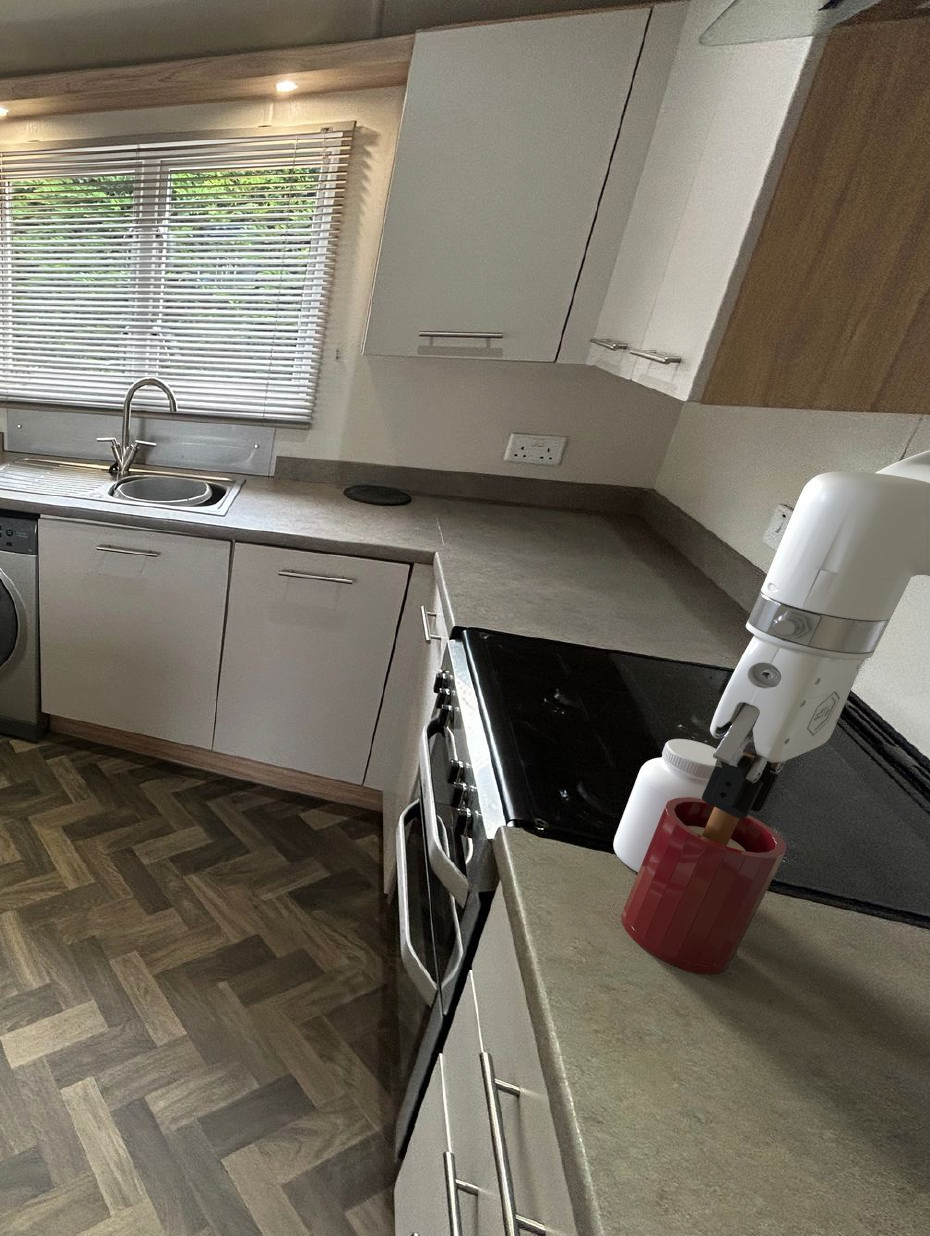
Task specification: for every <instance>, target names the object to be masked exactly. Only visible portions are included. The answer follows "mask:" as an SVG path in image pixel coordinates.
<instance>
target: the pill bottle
mask: <svg viewBox="0 0 930 1236" xmlns="http://www.w3.org/2000/svg"><path fill="white" fill-rule="evenodd" d="M716 749H717V748H715V747H713V746H712V745H709V744H706V743H703V742H699V741H695V740H693V739H692V740H691V739H685V738H673V739H670V740H668V741H667V742H665V743H664V747H663V749H662V752H661V755H662V756H661V757H655V758H652V759H650V760H647V761H646V762H644V764H643V765H642V766H641V767H640V769H639V772H638V774H637V777H636V779H635V782H634V785H633V788H632V790H631V793H630V795H629V797H628V801H627V803H626V807H625V809H624V811H623V814H622V817H621V819H620V822H619V825H618V828H617V830H616V833H615V835H614V839H613V842H612V843H613V844H612V845H613V850H614V853H615V854H616V856H617V857H618V859H619V860H620V861H621V862H623V864H624V865H625V866H627V867H629V868H630V869H631V870H632V871H635V872H637V873H638V872H639V870H640V867H641V865H642V862H643V860H644V857H645V855H646V852H647V850H648V847H649V845H650V843H651V840H652V838H653V835H654V833H655V830H656V828H657V825H658V823H659V820H660V818H661V815H662V813H663V811H664V808H665V806H666V804H667V802H668V801H670V800H672V799H674V798H682V797H692V798H700V799H702V795H703V793H704V791H705V788H706V786H707V784H708V781H709V779H710V777H711V774H712V772H713V770H714V768H715V763H716V761H717V759H715V758H713V754H714V752H715V751H716Z"/></svg>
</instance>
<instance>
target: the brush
mask: <svg viewBox="0 0 930 1236" xmlns="http://www.w3.org/2000/svg"><path fill="white" fill-rule="evenodd" d="M743 754H744V755H746V756H748V757H751V760H752V762H753V760H754V757H755V756H753V755H751V754H749V753H746V752H744V751H743ZM738 821H739V818H736V817H734V816H732V815H730V814H728V813H726V812H724V811H722V810H720V809H718V808H716V807H714V809H713V811H712V814H711V816H710V818H709V820H708V823H707V825H706V827H705V828H702V827H696V826H687V827H689V828H690V829H692V830H693V831H694V832H696V833H698V834H700V835H702V836H703V837H705V838H707V839H709V840H711V841H714V842H716V843H719V844H721V845H724V846H727V847H730V848H734V849H738V850H741V851H745V849H744V848H743V847H742V846H740V845H739V844H738V843H737V842H735V841H734V840H732V839H730V838H731V836H732V834H733V831H734V829H735V827H736V825H737V823H738Z"/></svg>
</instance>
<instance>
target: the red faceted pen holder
mask: <svg viewBox="0 0 930 1236" xmlns="http://www.w3.org/2000/svg"><path fill="white" fill-rule="evenodd" d="M713 809H714V806H712V805H710V804H708V803H706V802H705V801H703V799H700V798H692V797H682V798H674V799H672V800H670V801H668V802H667V804H666V806H665V808H664V811H663V813H662V815H661V818H660V820H659V823H658V825H657V828H656V830H655V833H654V835H653V838H652V840H651V843H650V845H649V847H648V850H647V852H646V855H645V857H644V860H643V862H642V865H641V867H640V870H639V872H637V875H636V878H635V880H634V882H633V885H632V887H631V890H630V892H629V894H628V896H627V897H628V898H627V899H626V902H625V905H624V907H623V909H622V913H621V917H620V919H621V923H622V926H623V928H624V929H625V931H626V933H627V934H628V935H629V936H630V937H631V939H633V941H635V942H636V944H638V945H639V946H640V947H641V948H642V949H644V950H645V951H647V952H648V953H650V954H652V955H653V956H654V957H656V958H657V959H660V960H662V961H663V962H665V963H668V964H669V965H672V966H674V967H676V968H679V969H682V970H685V971H688V972H691V973H696V974H702V975H717V974H721V973H723V972H725V971H726V970H727V969H729V967H730V965H731V962H732V961H733V960H734V958H735V956H736V954H737V951H738V950H739V948H740V945H741V943H742V941H743V939H744V937H745V935H746V933H747V931H748V930H749V927H750V925H751V923H752V921H753V919H754V917H755V915H756V913H757V911H758V909H759V907H760V905H761V903H762V901H763V899H764V897H765V895H766V893H767V892H768V889H769V887H770V885H771V884H772V881H773V879H774V877H775V875H776V873H777V871H778V869H779V867H780V865H781V863H782V860H783V858H784V857H785V854H786V851H787V844H786V842H785V841H784V839H783V838H782V837H781V836H780V835H779V833H777V831H775V830H774V829H773V828H771V827H770V826H768V825H767V824H765V823H764V822H762V821H761V820H759V819H757V818H756V817H754V816H752V815H750V814H748V816H747V817H745V818H743V819H739V821H738V823H737V825H736V827H735V829H734V831H733V834H732V836H731V838H730V839H732V840H734V841H735V842H737V843H738V844H739V845H740V846H742V847H743V848H744V849H745V851H741V850H738V849H734V848H730V847H727V846H724V845H721V844H719V843H716V842H714V841H711V840H709V839H707V838H705V837H703V836H702V835H700V834H698V833H696V832H694V831H693V830H692V829H690V828H689V827H687V826H696V827H702V828H705V827H706V825H707V823H708V820H709V818H710V816H711V814H712V811H713Z"/></svg>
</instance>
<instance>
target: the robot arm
mask: <svg viewBox="0 0 930 1236" xmlns="http://www.w3.org/2000/svg"><path fill="white" fill-rule="evenodd" d="M916 576H926V577H930V449H928V450H926V451H922V452H920V453H917V454H914V455H911V456H909V457H906V458H904V459H900V460H899V461H896V462H894V463H892V464H889V465H887V466H885V467H884V468H882V469H880V470H877V471H876V472H868V471H867V472H865V471H853V470H852V471H850V470H847V471H846V470H838V471H829V472H823V473H820V474H817V475H816V476H814V477H812V478H811V479H810V480H809V481H808V482H807V483H806V484H805V485H804V487H803V488H802V491H801V493H800V495H799V497H798V500H797V502H796V504H795V506H794V509H793V512H792V514H791V516H790V519H789V521H788V524H787V526H786V528H785V531H784V533H783V536H782V538H781V540H780V543H779V546H778V548H777V550H776V552H775V555H774V557H773V560H772V563H771V565H770V567H769V569H768V572H767V574H766V577H765V579H764V581H763V585H762V586H761V589H760V591H759V593H758V596H757V598H756V600H755V603H754V605H753V608H752V609H751V613H750V615H749V616H748V619H747V622H746V624H745V628H746V629H747V630H748V632H750V633H751V634H753V636H752V638H751V640H750V641H749V643H748V645H747V647H746V649H745V651H744V652H743V654H742V655H741V657H740V660H739V661H738V664H737V665H736V667H735V669H734V671H733V673H732V674H731V677H730V678H729V680H728V683H727V685H726V687H725V689H724V692H723V693H722V696H721V698H720V700H719V702H718V705H717V707H716V710H715V711H714V715H713V717H712V720H711V724H710V728H709V732H710V734H711V736H712V737H713V738H714V739H715V740H716V739H717V740H718V739H720V740H721V741H720V743H719V744H718V746H717V747H716V748H715V749H716V751H715V752H714V754H713V758H715V759H717V761H716V763H715V768H714V770H713V772H712V774H711V777H710V779H709V781H708V784H707V786H706V788H705V791H704V793H703V795H702V799H703V801H705V802H706V803H708V804H710V805H712V806H714V807H716V808H718V809H720V810H722V811H724V812H726V813H728V814H730V815H732V816H734V817H736V818H739V819H743V818H745V817H747V816H748V815H750V812H751V811H752V812H756V813H758V812H760V811H762V810H763V809H764V807H765V805H766V804H767V802H768V800H769V797H770V795H771V793H772V792H773V789H774V787H775V785H776V783H777V780H778V778H779V776H780V775H779V773H780V772H781V771H782V770H783V768H784V766H785V764H786V763H787V761H788V760H791V759H794V758H796V757H798V756H801V755H803V754H806V753H807V752H810V751H812V750H814V749H816V748H819V747H821V746H822V745H825V743H827V742H828V741H829V740H830V738H832V735H833V733H834V730H835V728H836V726H837V723H838V721H839V719H840V717H841V714H842V712H843V709H844V707H845V704H846V702H847V700H848V697H849V695H850V692H851V690H852V687H853V686H854V682H855V680H856V677H857V675H858V672H859V669H860V666H861V663H862V660H868V659H869V658H872V657H873V656H874V654H875V652H876V649H877V647H878V645H879V643H880V641H881V639H882V638H883V635H884V633H885V631H886V629H887V627H888V625H889V624H890V621H891V620H892V617H893V616H894V613H895V611H896V608H897V607H898V605H899V603H900V601H901V599H902V597H903V595H904V593H905V591H906V589H907V587H908V585H909V583H910V581H911V579H912V578H913V577H916ZM743 751H744V752H746V753H749V754H751V755H753V756H755V757H754V760H753V762H752V760H751V757H748V756H746V755H744V754H743Z"/></svg>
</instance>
